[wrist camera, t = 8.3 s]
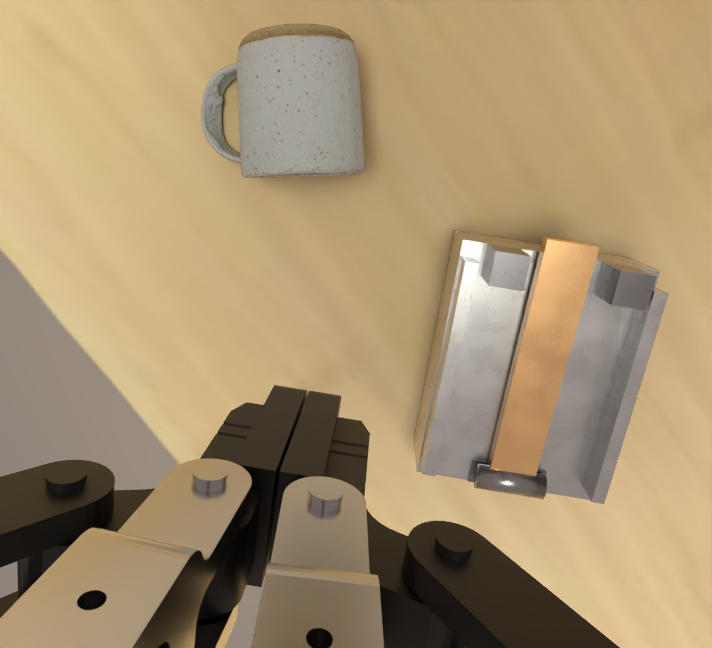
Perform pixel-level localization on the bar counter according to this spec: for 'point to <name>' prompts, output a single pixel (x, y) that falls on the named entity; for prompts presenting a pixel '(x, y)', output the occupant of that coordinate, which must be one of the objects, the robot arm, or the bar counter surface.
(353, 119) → the ceramic mug
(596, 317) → the block
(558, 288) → the strap
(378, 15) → the bar counter surface
